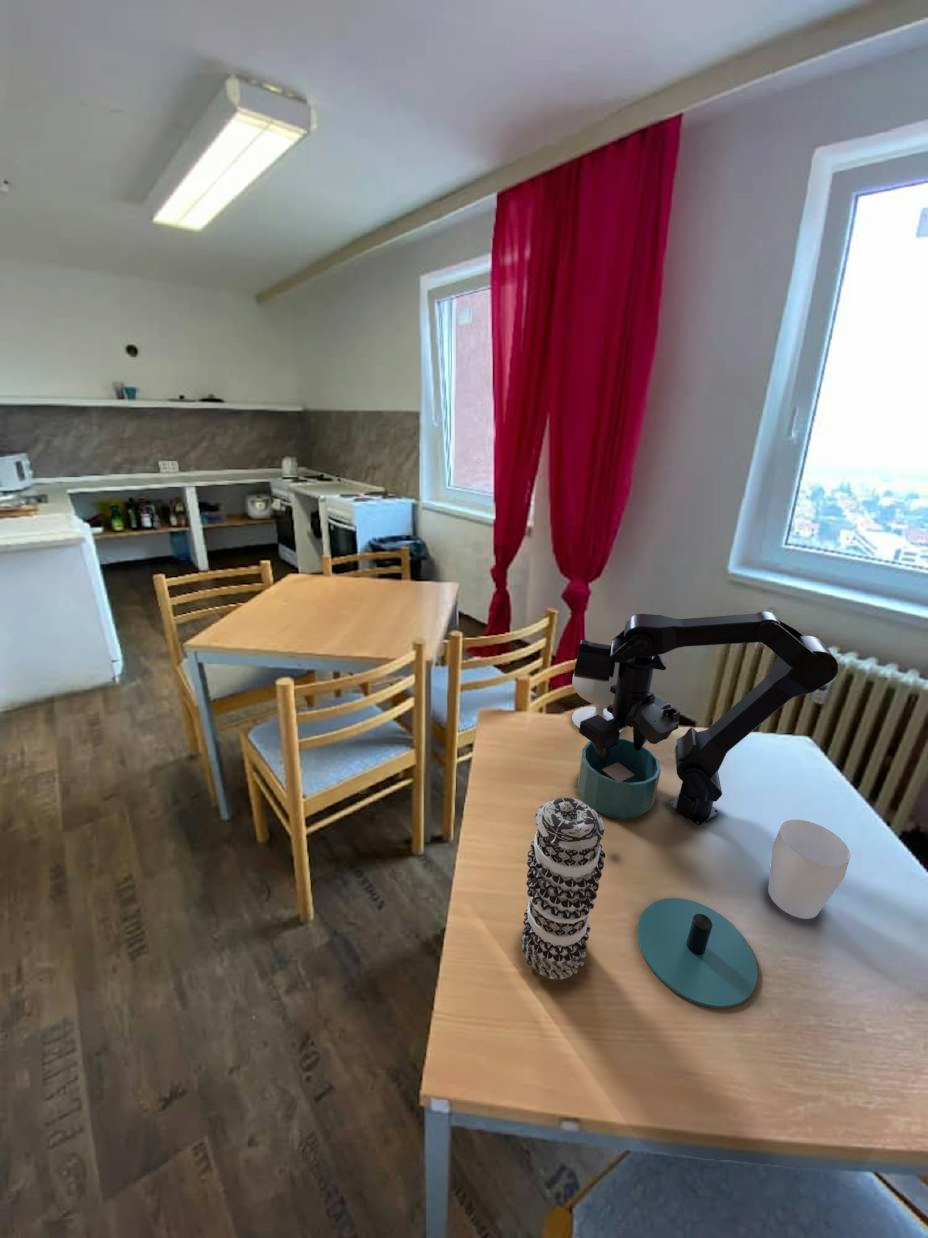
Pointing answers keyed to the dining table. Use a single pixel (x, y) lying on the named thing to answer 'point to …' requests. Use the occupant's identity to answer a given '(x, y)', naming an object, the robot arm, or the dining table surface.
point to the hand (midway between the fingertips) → (620, 757)
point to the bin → (617, 794)
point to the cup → (806, 867)
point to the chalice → (594, 697)
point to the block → (618, 773)
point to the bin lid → (697, 953)
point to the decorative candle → (562, 886)
